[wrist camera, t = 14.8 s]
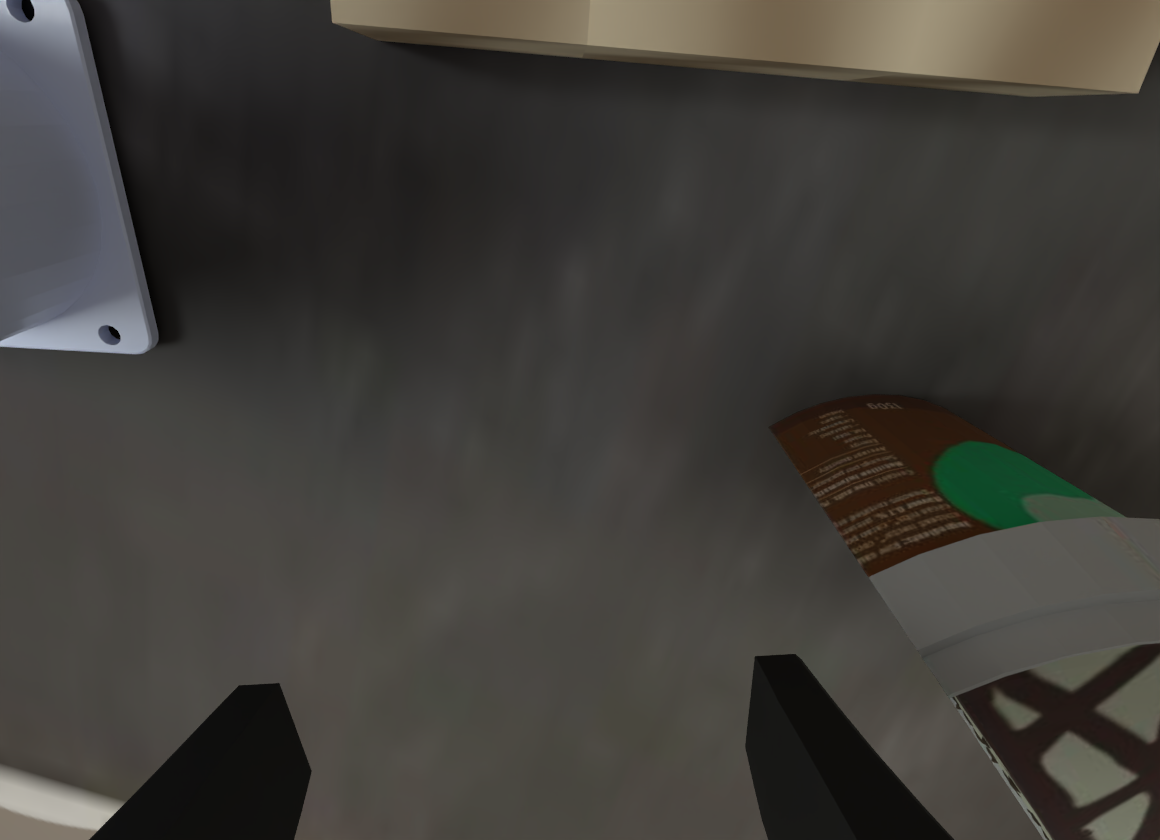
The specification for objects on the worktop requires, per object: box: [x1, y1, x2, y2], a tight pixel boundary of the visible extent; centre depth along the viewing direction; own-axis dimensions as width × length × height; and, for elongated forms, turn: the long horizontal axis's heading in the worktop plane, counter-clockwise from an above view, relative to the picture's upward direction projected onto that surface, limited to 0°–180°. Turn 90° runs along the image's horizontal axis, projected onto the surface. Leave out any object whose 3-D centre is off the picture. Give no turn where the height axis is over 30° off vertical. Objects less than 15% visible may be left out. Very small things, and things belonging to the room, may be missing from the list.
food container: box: [769, 394, 1160, 840], centre depth 15 cm, size 12×6×10 cm, turn 36°
